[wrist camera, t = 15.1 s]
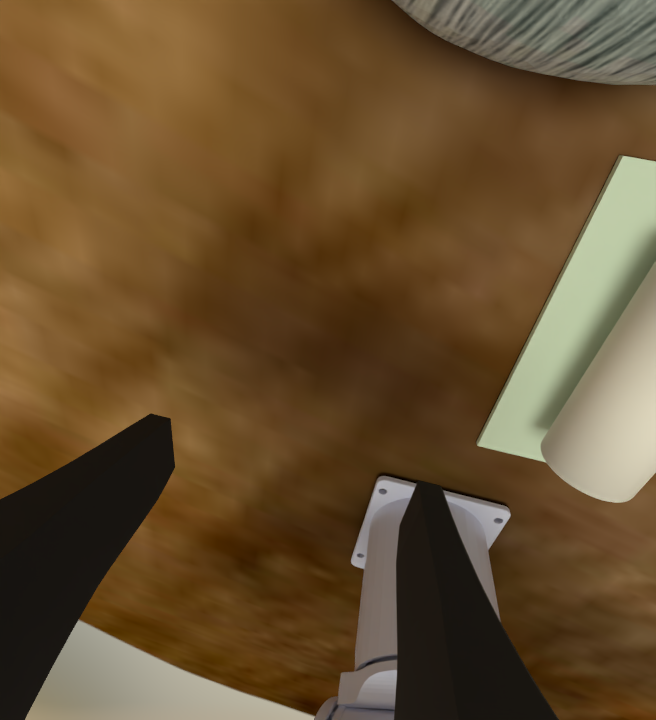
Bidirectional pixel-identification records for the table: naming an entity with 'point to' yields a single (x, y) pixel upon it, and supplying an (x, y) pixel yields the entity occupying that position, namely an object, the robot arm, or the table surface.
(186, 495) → the table surface
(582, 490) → the cylinder
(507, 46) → the mottled grey-green ovoid
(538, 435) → the mat
